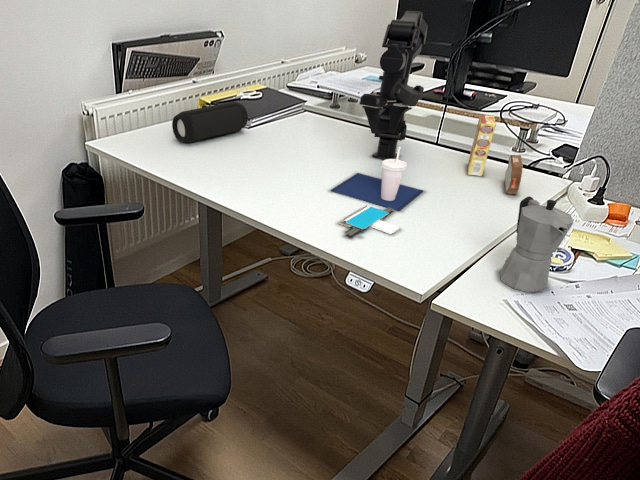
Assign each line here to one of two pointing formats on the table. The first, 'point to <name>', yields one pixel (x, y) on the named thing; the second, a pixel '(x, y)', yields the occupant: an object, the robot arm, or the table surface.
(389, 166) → the smoothie
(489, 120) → the candy box
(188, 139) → the portable speaker
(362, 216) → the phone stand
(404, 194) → the cloth
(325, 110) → the table surface
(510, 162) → the tin
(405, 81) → the robot arm
